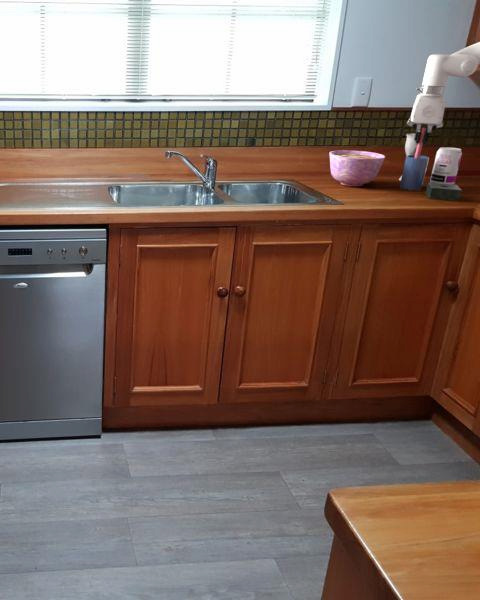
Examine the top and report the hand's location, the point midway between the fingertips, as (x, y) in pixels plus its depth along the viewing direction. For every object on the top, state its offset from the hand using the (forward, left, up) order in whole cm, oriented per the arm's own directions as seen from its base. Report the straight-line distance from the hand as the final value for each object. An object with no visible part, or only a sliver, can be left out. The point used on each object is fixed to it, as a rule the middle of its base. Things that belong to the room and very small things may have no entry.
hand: (420, 142), depth 226 cm
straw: (0, 0, -11) cm, 11 cm away
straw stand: (-9, +12, -17) cm, 23 cm away
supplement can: (-11, -5, -17) cm, 21 cm away
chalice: (0, -17, -17) cm, 24 cm away
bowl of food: (+21, +1, -17) cm, 27 cm away
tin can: (0, 0, -17) cm, 17 cm away
